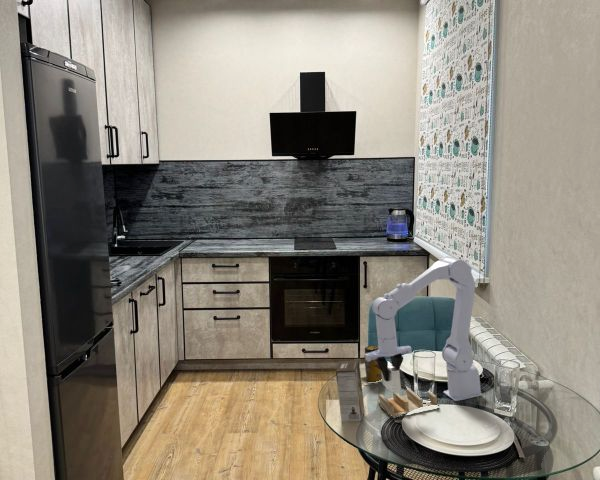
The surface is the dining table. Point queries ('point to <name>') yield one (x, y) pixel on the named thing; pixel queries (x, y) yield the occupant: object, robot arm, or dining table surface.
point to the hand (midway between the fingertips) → (391, 379)
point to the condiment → (371, 368)
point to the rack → (404, 402)
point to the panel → (392, 379)
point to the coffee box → (350, 390)
